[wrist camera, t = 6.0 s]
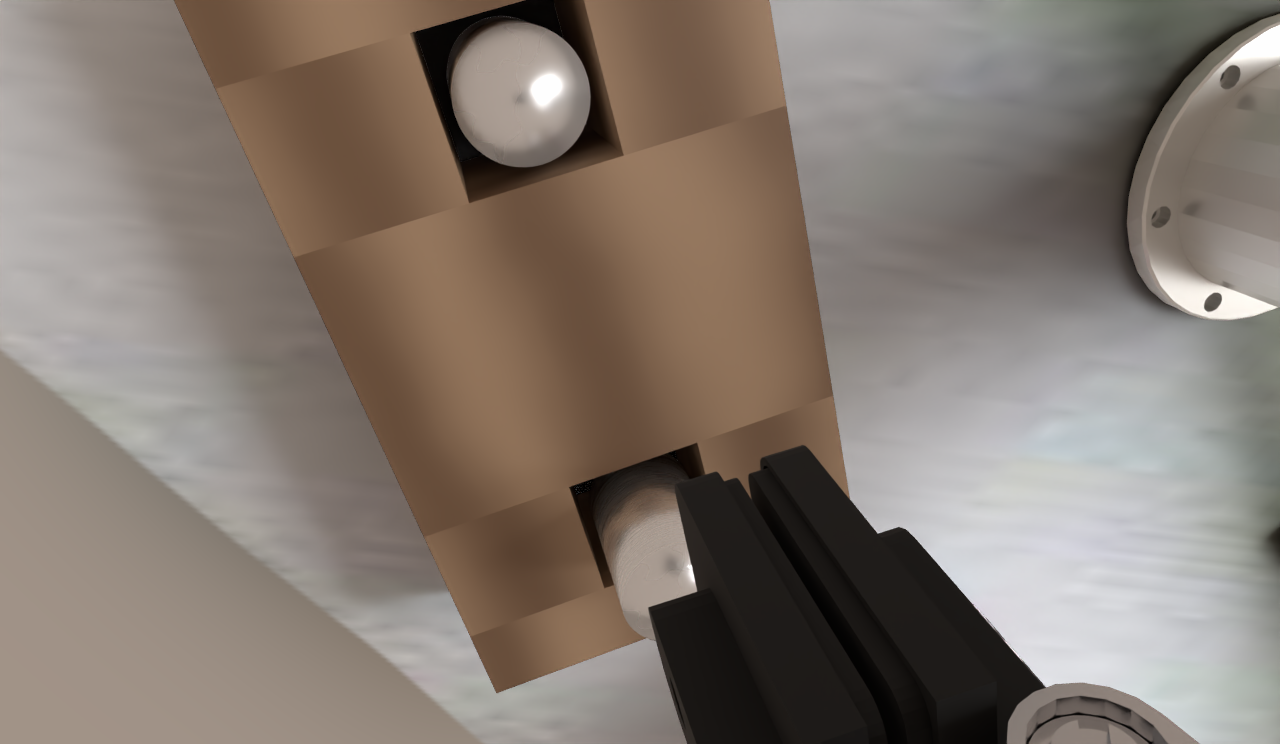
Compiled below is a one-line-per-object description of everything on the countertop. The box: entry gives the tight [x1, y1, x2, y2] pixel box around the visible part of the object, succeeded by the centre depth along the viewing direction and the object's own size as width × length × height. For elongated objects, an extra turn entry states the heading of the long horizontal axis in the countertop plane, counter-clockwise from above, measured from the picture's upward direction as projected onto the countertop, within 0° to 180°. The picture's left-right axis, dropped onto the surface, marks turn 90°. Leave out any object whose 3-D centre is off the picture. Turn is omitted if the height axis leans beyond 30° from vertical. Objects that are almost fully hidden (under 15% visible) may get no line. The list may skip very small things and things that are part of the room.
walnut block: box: [174, 0, 850, 693], centre depth 28 cm, size 14×24×6 cm, turn 14°
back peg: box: [589, 453, 697, 641], centre depth 27 cm, size 4×4×6 cm
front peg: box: [447, 16, 591, 167], centre depth 24 cm, size 4×4×6 cm
